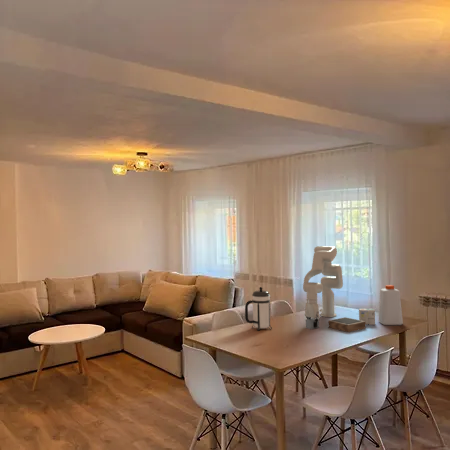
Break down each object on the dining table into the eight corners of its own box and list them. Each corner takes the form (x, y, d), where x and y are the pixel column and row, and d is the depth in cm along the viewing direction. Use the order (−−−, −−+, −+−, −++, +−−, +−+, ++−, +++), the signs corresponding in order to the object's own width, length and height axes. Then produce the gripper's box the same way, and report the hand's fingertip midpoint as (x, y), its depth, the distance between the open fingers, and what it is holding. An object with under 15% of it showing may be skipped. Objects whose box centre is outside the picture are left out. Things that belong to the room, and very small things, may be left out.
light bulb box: (373, 322, 332) (373, 308, 332) (375, 324, 325) (375, 310, 325) (358, 322, 333) (358, 308, 333) (360, 324, 326) (360, 310, 326)
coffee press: (255, 325, 330) (254, 285, 330) (275, 327, 322) (274, 286, 322) (245, 330, 315) (244, 288, 315) (265, 332, 307) (265, 289, 307)
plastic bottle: (397, 321, 335) (396, 284, 335) (404, 325, 320) (403, 286, 320) (377, 321, 336) (376, 284, 336) (383, 325, 321) (382, 287, 321)
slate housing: (305, 327, 319) (305, 319, 319) (315, 326, 325) (314, 317, 325) (310, 329, 315) (310, 320, 315) (320, 327, 320) (319, 318, 320)
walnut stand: (328, 327, 319) (328, 320, 319) (345, 324, 329) (345, 316, 329) (348, 332, 304) (348, 324, 304) (365, 328, 314) (365, 320, 314)
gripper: (299, 300, 325) (300, 325, 325) (316, 303, 311) (317, 329, 311) (307, 299, 329) (307, 323, 329) (324, 302, 315) (325, 328, 315)
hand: (312, 326), depth 320 cm, fingers closed on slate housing, 5 cm apart
